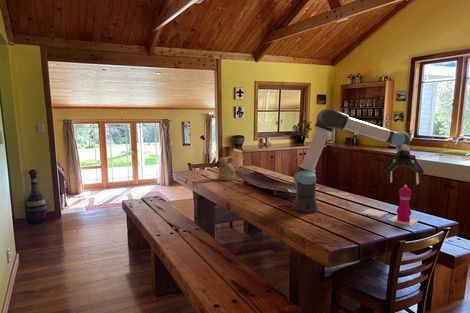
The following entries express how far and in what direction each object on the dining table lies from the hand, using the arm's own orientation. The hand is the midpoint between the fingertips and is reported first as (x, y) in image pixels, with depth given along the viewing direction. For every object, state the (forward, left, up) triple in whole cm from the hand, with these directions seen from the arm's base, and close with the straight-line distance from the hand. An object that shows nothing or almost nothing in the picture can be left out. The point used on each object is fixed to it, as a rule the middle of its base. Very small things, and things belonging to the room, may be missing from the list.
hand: (404, 182), depth 185 cm
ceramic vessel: (-3, +149, -20) cm, 150 cm away
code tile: (-10, -4, -20) cm, 22 cm away
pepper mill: (-10, -4, -19) cm, 22 cm away
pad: (-10, +12, -20) cm, 25 cm away
